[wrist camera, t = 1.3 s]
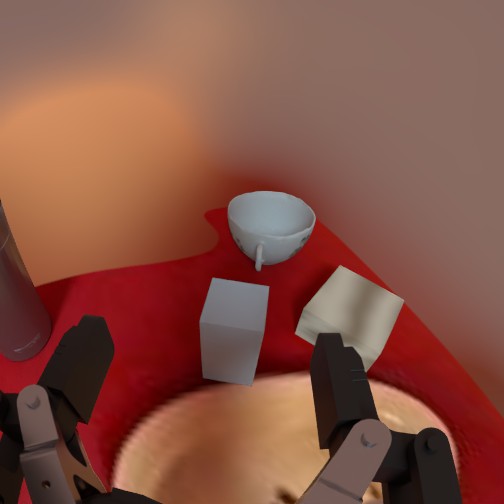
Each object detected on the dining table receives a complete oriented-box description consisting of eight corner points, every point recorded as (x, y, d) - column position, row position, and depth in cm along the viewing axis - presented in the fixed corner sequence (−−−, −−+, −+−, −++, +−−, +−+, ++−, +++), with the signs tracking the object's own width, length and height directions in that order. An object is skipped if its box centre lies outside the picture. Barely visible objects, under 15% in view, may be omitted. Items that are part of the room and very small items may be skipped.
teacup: (237, 224, 53) (241, 183, 48) (308, 239, 51) (318, 199, 46) (208, 281, 41) (208, 233, 36) (297, 302, 39) (311, 256, 35)
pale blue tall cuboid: (202, 377, 29) (199, 321, 23) (212, 339, 34) (212, 277, 27) (251, 386, 29) (264, 331, 23) (256, 346, 33) (269, 286, 27)
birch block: (294, 334, 36) (303, 308, 32) (330, 291, 42) (340, 265, 39) (363, 375, 31) (380, 353, 28) (389, 324, 38) (404, 300, 35)
